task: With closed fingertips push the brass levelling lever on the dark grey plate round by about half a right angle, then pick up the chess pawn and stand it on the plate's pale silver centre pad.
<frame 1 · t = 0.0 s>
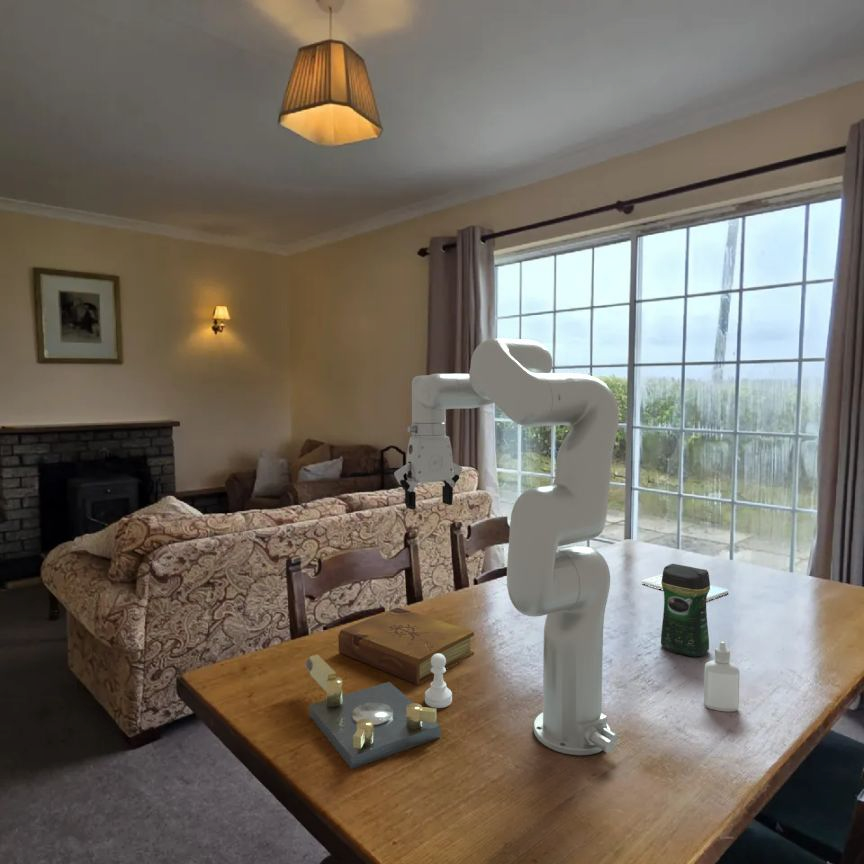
hand: (429, 506, 138), 31 cm above the table, fingers open, 9 cm apart
eye dropper bottle: (720, 708, 110), on the table
calculator: (683, 590, 176), on the table
chess pawn: (438, 702, 113), on the table
coffee jar: (684, 650, 135), on the table
diary: (406, 656, 133), on the table
brass lever: (323, 677, 112), point 5 cm above the table, hinge at 0.0°
levelling plate: (372, 726, 104), on the table
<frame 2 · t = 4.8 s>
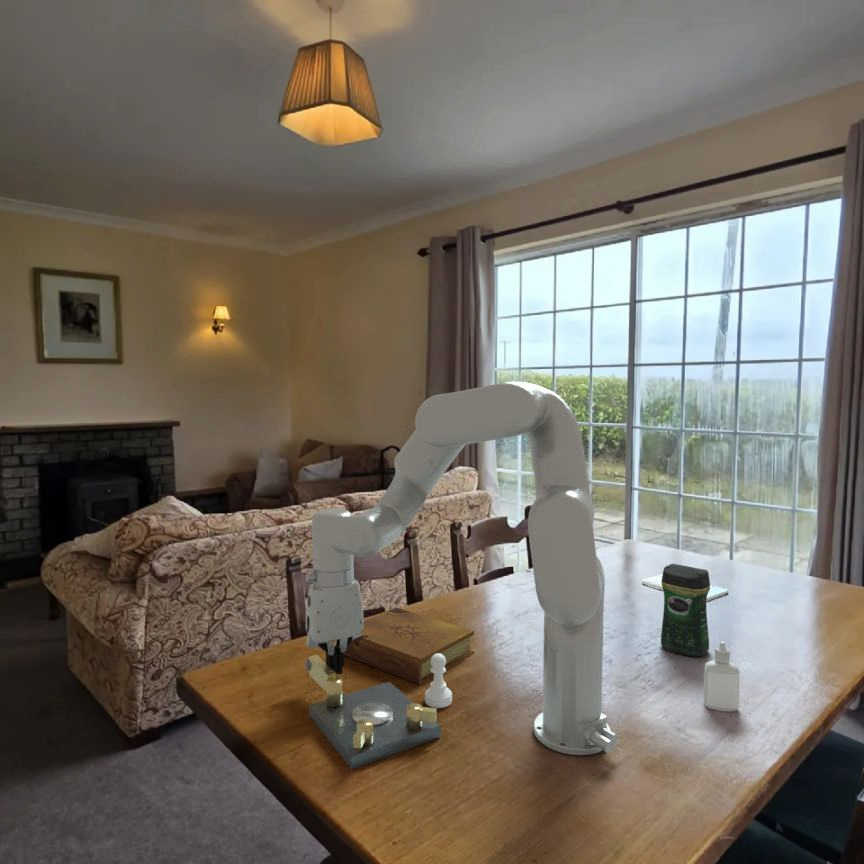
hand: (335, 671, 114), 5 cm above the table, fingers closed
brass lever: (323, 677, 112), point 5 cm above the table, hinge at 1.1°, touching gripper
everything else where it was.
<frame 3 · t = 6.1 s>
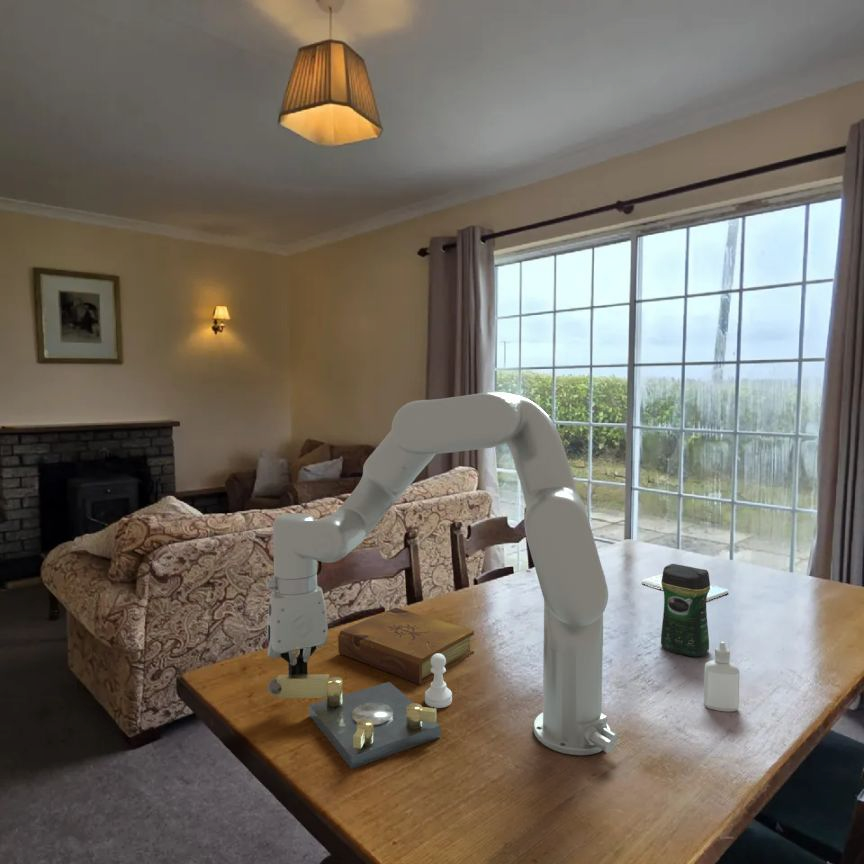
hand: (298, 682, 111), 5 cm above the table, fingers closed
brass lever: (305, 689, 108), point 5 cm above the table, hinge at 58.7°, touching gripper
everything else where it was.
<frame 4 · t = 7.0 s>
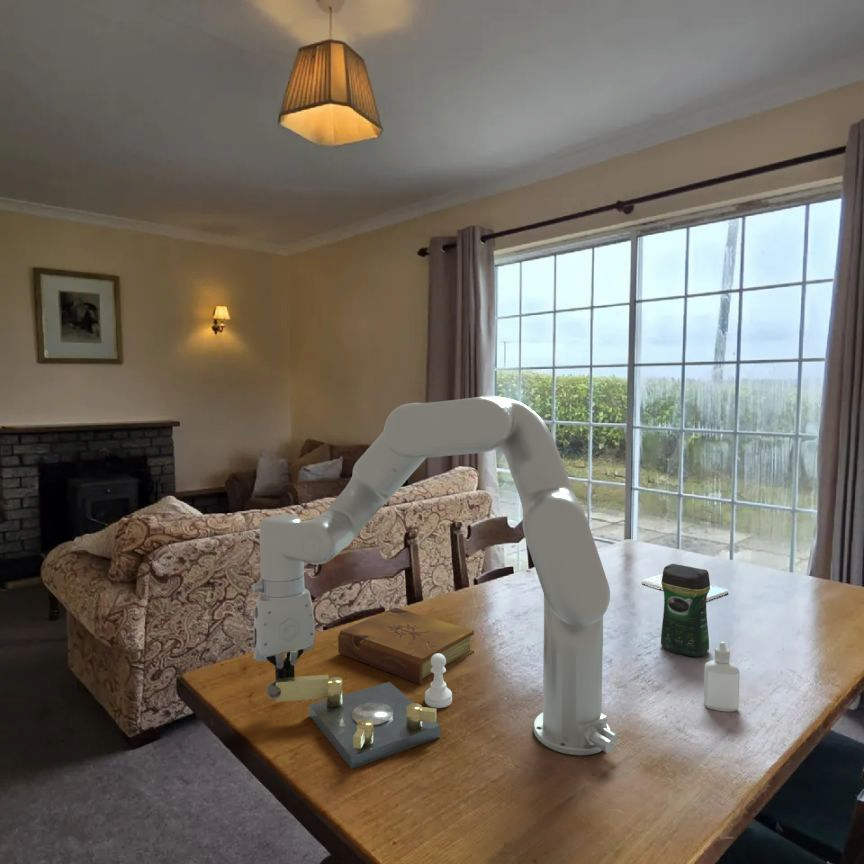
hand: (285, 685, 109), 5 cm above the table, fingers closed
brass lever: (304, 691, 107), point 5 cm above the table, hinge at 66.1°, touching gripper
everything else where it was.
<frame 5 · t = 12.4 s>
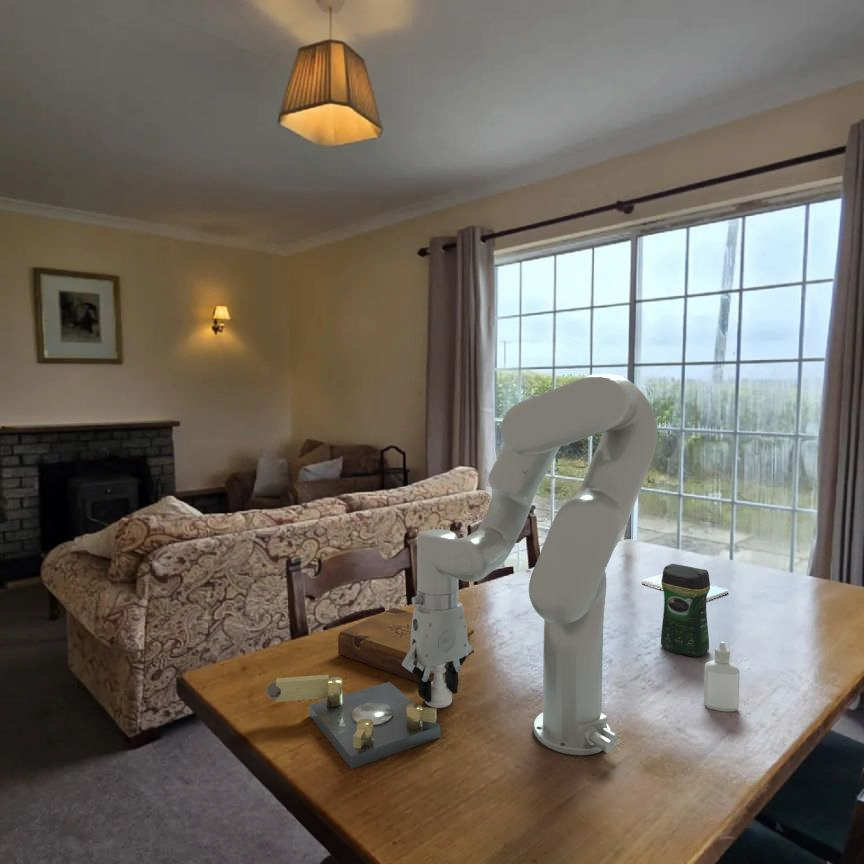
hand: (438, 693, 112), 1 cm above the table, fingers closed on chess pawn, 5 cm apart
chess pawn: (438, 702, 113), on the table, touching gripper
brass lever: (304, 691, 107), point 5 cm above the table, hinge at 66.1°
everything else where it was.
when the fingers open (5 cm above the table, at t = 16.7 s): chess pawn drops 1 cm, resting on levelling plate.
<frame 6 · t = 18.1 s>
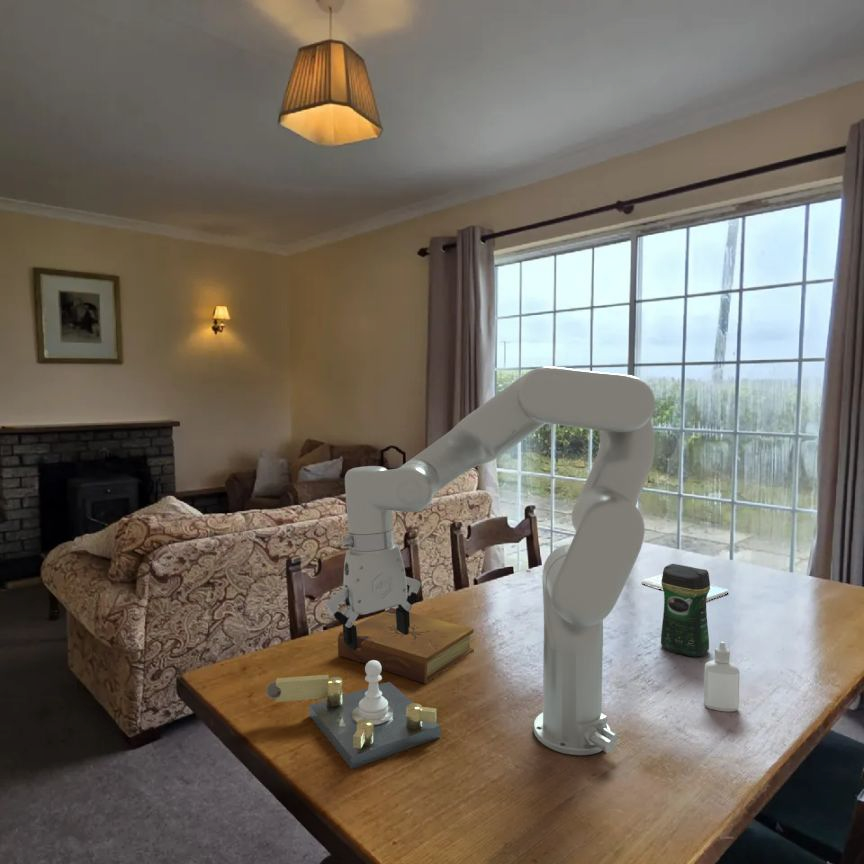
hand: (378, 639, 103), 15 cm above the table, fingers open, 9 cm apart
chess pawn: (373, 713, 104), point 2 cm above the table, touching levelling plate
everything else where it was.
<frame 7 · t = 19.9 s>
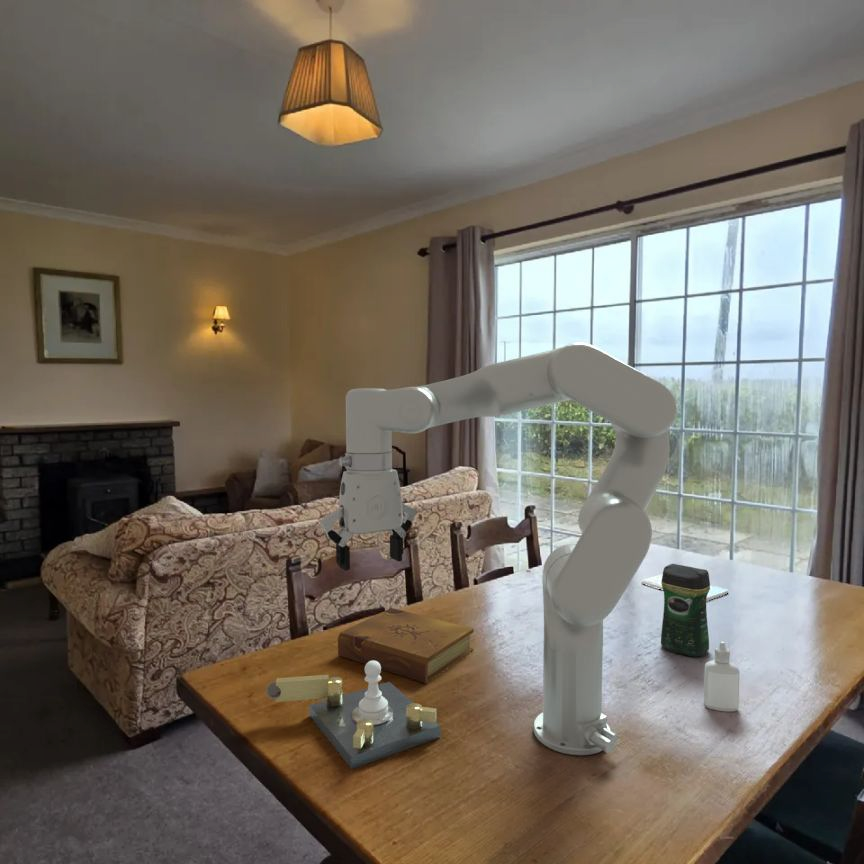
hand: (370, 563, 102), 28 cm above the table, fingers open, 9 cm apart
nothing on the table moved.
at the end: brass lever at +66° (first picture: +0°); chess pawn inside the target area on the levelling plate (0.2 cm from its centre), point 2.2 cm above the levelling plate's base; chess pawn tilted 1° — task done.
